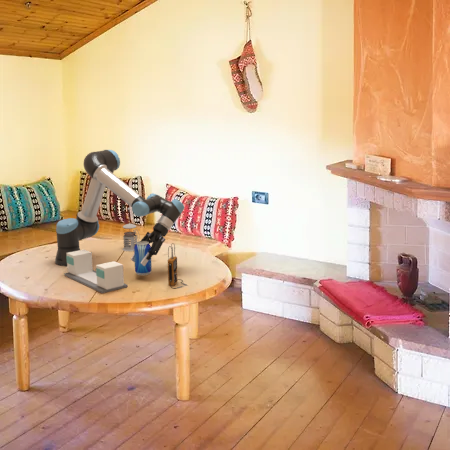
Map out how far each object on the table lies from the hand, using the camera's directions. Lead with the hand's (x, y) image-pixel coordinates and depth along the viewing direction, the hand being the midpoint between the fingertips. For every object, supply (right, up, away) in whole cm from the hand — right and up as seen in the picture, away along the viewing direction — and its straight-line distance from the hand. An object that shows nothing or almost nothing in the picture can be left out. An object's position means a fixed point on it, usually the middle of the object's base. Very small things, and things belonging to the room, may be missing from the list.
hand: (137, 262), depth 325 cm
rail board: (-21, -9, -1) cm, 23 cm away
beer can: (+3, -6, +4) cm, 7 cm away
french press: (-11, +4, +58) cm, 59 cm away
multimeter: (+22, -10, -7) cm, 25 cm away
